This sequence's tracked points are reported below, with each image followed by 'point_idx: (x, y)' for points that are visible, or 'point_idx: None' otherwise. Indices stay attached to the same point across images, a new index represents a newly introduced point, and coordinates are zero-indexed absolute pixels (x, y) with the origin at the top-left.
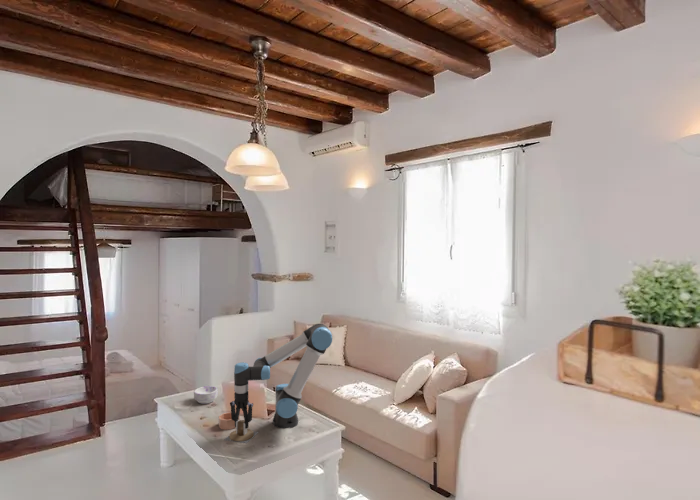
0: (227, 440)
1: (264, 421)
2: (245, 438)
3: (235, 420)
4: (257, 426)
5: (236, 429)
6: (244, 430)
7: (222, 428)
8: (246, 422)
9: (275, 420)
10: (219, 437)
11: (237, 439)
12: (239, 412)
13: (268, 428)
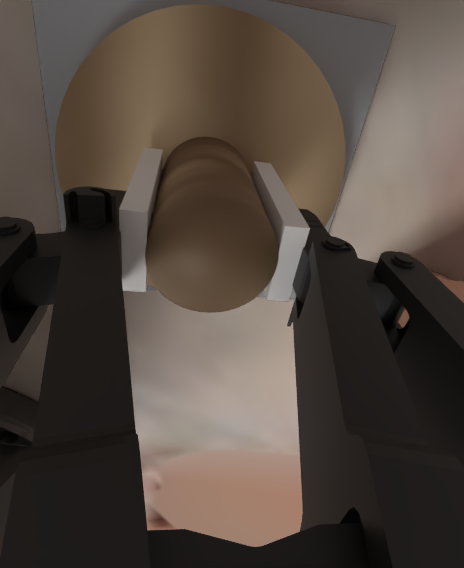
0: (339, 16)
1: (142, 432)
2: (93, 62)
3: (328, 245)
4: (154, 370)
5: (274, 180)
6: (141, 164)
7: (441, 280)
8: (65, 208)
9: (8, 444)
10: (448, 121)
11: (193, 6)
12: (300, 410)
13: (42, 360)
